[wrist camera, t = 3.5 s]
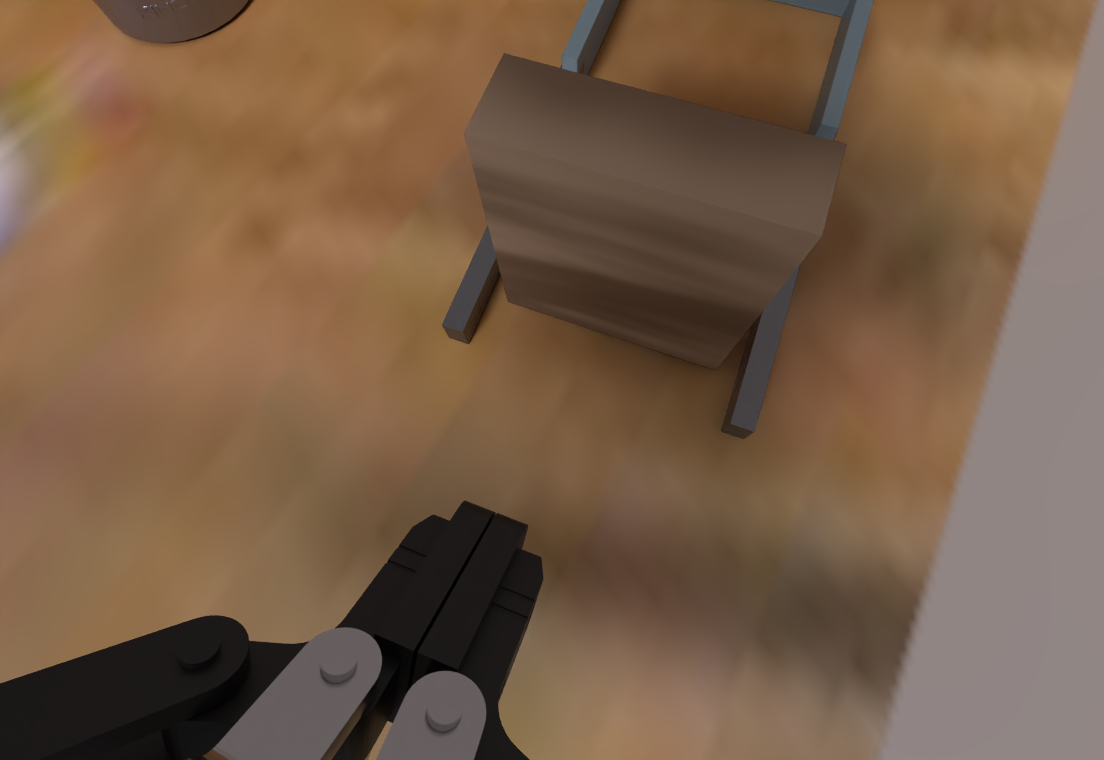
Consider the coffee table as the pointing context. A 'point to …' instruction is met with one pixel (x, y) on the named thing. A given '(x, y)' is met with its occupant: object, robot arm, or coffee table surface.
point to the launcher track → (752, 366)
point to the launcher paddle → (643, 207)
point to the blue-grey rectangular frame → (848, 3)
